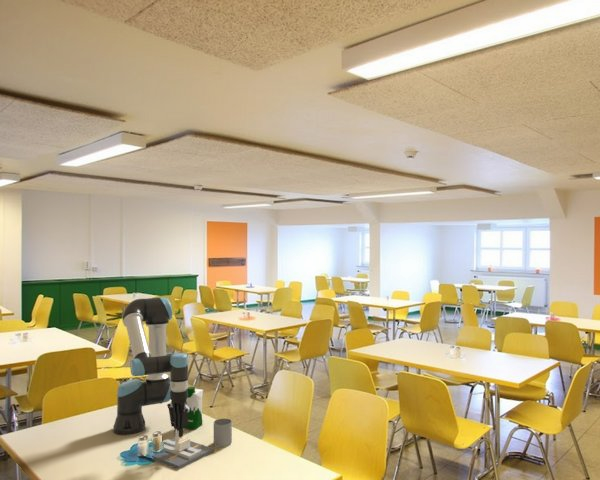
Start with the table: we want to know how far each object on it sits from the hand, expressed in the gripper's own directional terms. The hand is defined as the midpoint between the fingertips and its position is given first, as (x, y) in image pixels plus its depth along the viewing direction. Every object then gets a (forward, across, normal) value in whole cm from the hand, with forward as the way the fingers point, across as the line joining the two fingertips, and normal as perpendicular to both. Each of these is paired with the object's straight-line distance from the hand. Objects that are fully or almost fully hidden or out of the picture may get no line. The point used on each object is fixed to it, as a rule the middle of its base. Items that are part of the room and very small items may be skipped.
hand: (178, 443), depth 205 cm
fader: (+3, +2, 0) cm, 4 cm away
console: (+5, -1, 0) cm, 5 cm away
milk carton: (+5, -19, +26) cm, 33 cm away
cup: (+5, +8, +19) cm, 21 cm away
